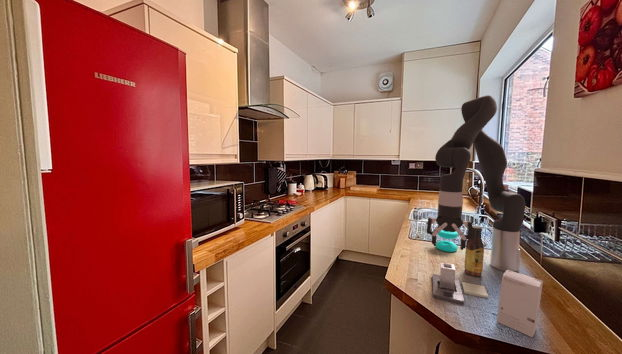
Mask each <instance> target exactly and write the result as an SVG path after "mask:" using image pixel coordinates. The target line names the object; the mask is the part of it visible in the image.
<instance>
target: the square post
mask: <svg viewBox="0 0 622 354" xmlns="http://www.w3.org/2000/svg"><path fill="white" fill-rule="evenodd" d="M439 264H440V266H439V275H440V283H439V284H438V287H439V289H444V290H448V291H453V292H456V289H455V278H456V267H455V264H454V263H453V264H452V263H447V262H439Z"/></svg>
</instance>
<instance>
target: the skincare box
mask: <svg viewBox="0 0 622 354" xmlns="http://www.w3.org/2000/svg"><path fill="white" fill-rule="evenodd" d="M501 277H502V278H501V285H500V292H499V293H500V294H499V300H498V308H497V309H498V310H497V317H496V322H497V323H498V324H501V325H503V326H506V327H509V329H512V330H515V331H516V332H519V333H522V334H523V335H526V336H528V337H530V338H533V337H534V335H535V333H536V330H537V326H538V319H539V313H540V312H539V311H540V304H541V297H542V290H543V283H544V281H543V280H541V279H538V278H534V277H533V276H532V277H531V276H529V275H526V274H523V273H519V272H517V271H515V272H513V271H510V270H506V271H504V273H503V274H502V276H501Z"/></svg>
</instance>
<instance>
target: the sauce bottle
mask: <svg viewBox="0 0 622 354" xmlns="http://www.w3.org/2000/svg"><path fill="white" fill-rule="evenodd" d="M482 232H483V227H481V226H478V225H472V236H473V238H472V239H467V240H466V247H465V254H464V266H463V267H464V272H465V274H467V275H470V276H474V277H481V276H482V275H483V269H484V257H485V255H484V254H485V246H484V242H483V240H482Z"/></svg>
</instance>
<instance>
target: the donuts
mask: <svg viewBox="0 0 622 354" xmlns="http://www.w3.org/2000/svg"><path fill="white" fill-rule="evenodd" d="M436 236H438V237H440V238H442V239H443V240H442V239H441V240H439V241H436V246H435V247H436V248H437V249H439V250H440V251H442V252H447V253H453V252H456V251H458V245H457V244H456V243H455V242H453V241H450V240H454V239H457V238H458V237H459V234H458V233H457V232H450V231H443V230H441V231H440V232H439V233H438V234H437V235H436ZM444 239H446V240H444Z"/></svg>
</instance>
